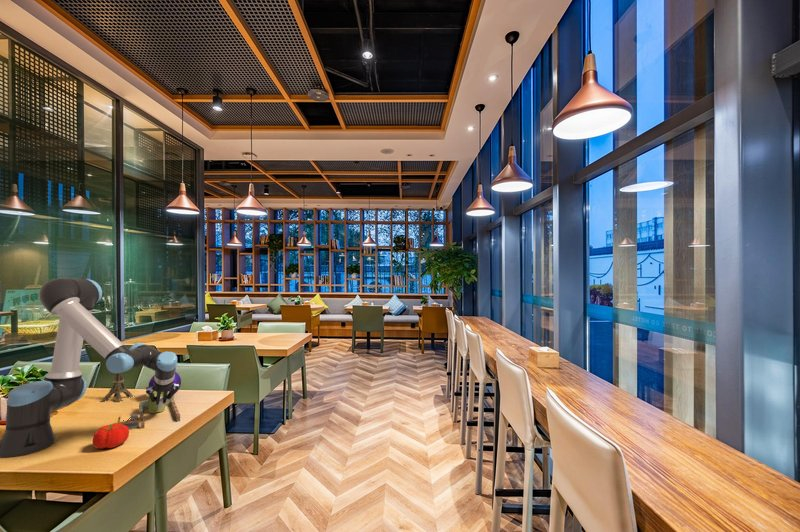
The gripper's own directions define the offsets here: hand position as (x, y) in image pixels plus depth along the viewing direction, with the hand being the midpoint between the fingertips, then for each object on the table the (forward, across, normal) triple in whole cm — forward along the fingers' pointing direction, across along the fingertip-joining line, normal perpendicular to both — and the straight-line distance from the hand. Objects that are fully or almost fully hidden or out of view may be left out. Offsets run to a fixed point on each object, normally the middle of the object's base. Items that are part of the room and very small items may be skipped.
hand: (160, 406), depth 169 cm
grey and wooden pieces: (+1, -4, -3) cm, 6 cm away
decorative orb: (+22, +4, +17) cm, 28 cm away
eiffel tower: (+31, -17, +26) cm, 44 cm away
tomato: (-18, -17, -24) cm, 34 cm away
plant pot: (+6, -1, +1) cm, 6 cm away
